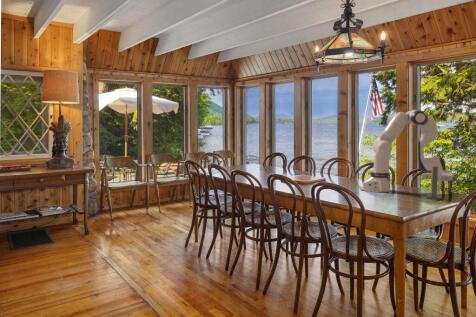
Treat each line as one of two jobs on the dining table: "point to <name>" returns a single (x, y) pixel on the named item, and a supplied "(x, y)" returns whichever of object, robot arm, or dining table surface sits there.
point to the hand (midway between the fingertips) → (436, 178)
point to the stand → (434, 185)
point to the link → (438, 179)
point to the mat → (425, 194)
